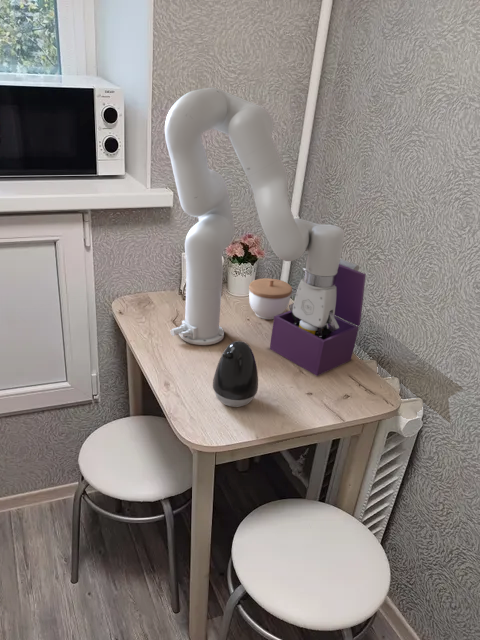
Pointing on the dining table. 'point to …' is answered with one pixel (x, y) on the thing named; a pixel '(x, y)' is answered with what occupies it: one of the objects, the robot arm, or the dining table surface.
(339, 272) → the file box lid
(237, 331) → the dining table surface
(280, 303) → the lidded bowl
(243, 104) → the robot arm
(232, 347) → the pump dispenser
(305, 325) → the pill bottle
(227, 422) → the dining table surface
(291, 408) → the dining table surface
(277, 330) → the box
